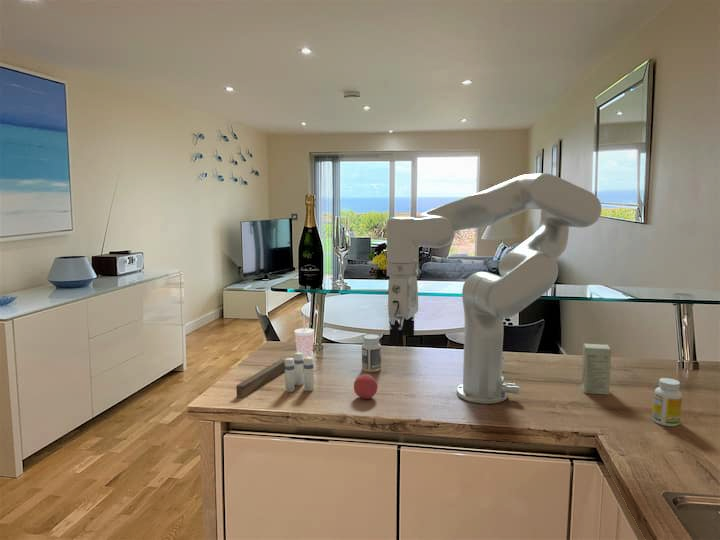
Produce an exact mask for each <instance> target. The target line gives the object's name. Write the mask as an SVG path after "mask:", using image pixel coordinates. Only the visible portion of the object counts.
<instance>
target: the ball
mask: <svg viewBox="0 0 720 540" xmlns="http://www.w3.org/2000/svg"><path fill="white" fill-rule="evenodd" d="M378 386H379V385H378V381H377V380H376V378H374V376H372V375H370V374H366V373H365V374H361V375H359V376H358V377H356V379H355V380H354V384H353V390H354V393H355V395H356V396H357V397H359V398H361V399H364V400H365V399H366V400H367V399H371V398H373V397H374V396H375V395H376V393H377V392H378V388H379V387H378Z"/></svg>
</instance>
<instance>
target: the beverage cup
mask: <svg viewBox="0 0 720 540" xmlns="http://www.w3.org/2000/svg"><path fill="white" fill-rule="evenodd" d="M305 317H306V315H305V314H303V317H302V321H303V322H302V323H303V325H302V326H303V328H302V327H301V328H297V329H294V330H293V331H294V332H293V333H294V335H295V345H296V353H297V352H301V353H303V360H304V358H305V357H313V350H314V349H313V347H314V334H315V329H314V328H310V327H306V318H305Z"/></svg>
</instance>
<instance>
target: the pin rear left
mask: <svg viewBox="0 0 720 540" xmlns="http://www.w3.org/2000/svg"><path fill="white" fill-rule="evenodd" d="M284 360H285V371H284V381H285V383H284V386H285V390H284V391H285V392H286V393H292V392H295V387H296V385H295V375H294V357H286V358H284Z"/></svg>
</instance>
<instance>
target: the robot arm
mask: <svg viewBox="0 0 720 540" xmlns="http://www.w3.org/2000/svg"><path fill="white" fill-rule="evenodd" d="M528 210H540V222H539V225H538V227H537V230H536V231H535V232H534V233H532V234H531V235H530V236H528V238H526V239H525V240H523V241H522V242H520V243H519V244H518V245H516V246H515V247H514V248H512V249H511V250H510V251H508V252H507V253H506V254H505V255H504V256H503V257H502V258H501V259H500V261H499V265H498V272H499V274H496V273H493V272H487V271H478V272H475V273H472V274H470V275H469V276H468V277H467V278H466V280H465V281H464V283H463V287H462V289H461V291H462V292H461V295H462V298H461V299H462V305H463V306H462V307H463V315H464V331H463V332H464V336H463V338H464V339H463V366H462V367H463V371H462V375H463V377H462V383H461V384H459V385H458V386H457V387H456V394H457V396H458V397H460V398H461V399H462V400H464V401H467V402H470V403H475V404H480V405H481V404H483V405H490V404H491V405H493V404H498V403H501V402H504V401H505V400H507V398H508V393H509V394H513V395H520V386H518V385H516V383H512V382H507V381H504V380H505V379H504V378H505V377H504V376H503V374H502V372H503V371H502V370H503V350H504V349H503V347H504V346H503V345H504V319H509V318H511V317H514V316H516V315H517V314H519V313H520V312H522V311H523V310H524V309H526V308H527V307H528V306H530V305H531V304H532V303H534V302H535V301H536V300H538V299H539V298H541V297H542V296H543V295H544V294H545V293H547V292H548V291H549V290H550V289H551V288H553V285H555V282H556V281H557V278H558V275H559V266H558V263H557V261H556V260H557V259H558V258H560V256H562V254H563V253H564V252H565V250H566V248H567V245H568V242H569V240H568V239H569V231H570V227H571V228H588V227H592V225H594V224H596V222H598V220H599V219H600V216H601V215H602V214H601V213H602V204H601V201H600V199H599V198H598V196H597V195H595V194H594V193H592V192H591V191H589V190H588V189H585V188H582V187H581V186H578V185H576V184H574V183H571V181H567V180H566V179H564V178H561V177H559V176H556V175H554V174H551V173H545V172H543V173H541V172H540V173H527V174H522V175H519V176H517V177H513V178H512V179H511V178H510V179H509V180H507V181H504V182H502V183H499V184H497V185H494V186H492V187H490V188H487V189H485V190H482V191H480V192H477V193H474V194H470V195H468V196H465V197H463V198H460V199H457V200H454V201H451V202H448V203H445V204H443V205H440V206H437V207H435V208H432V209H429V210H427V211H425V212H423V213H421V214H418V215H417V216H416V217H414V216H394V217H393V216H392V217H390V218H389V219H388V220H387V222H386V276H388V277H389V283H388V296H387V297H388V299H387V309H388V310H387V312H388V319H389V321H388V323H389V327H388V328H389V345H390V346H393V347H403V346H404V336H405V337H414V335H415V315H416V314H417V313H418V311H419V291H418V276H419V269H420V268H419V259H420V258H419V255H420V254H419V252H420V251H419V250H420V248H419V247H423V248H431V249H441V248H444V247H446V246H448V245H450V244H451V243H452V242H453V240H454V238H455V235H456V232H459V231H462V230H467V229H478V228H485V227H490V226H495V225H496V224H498V223H500V222H503V221H505V220H508V219H510V218H512V217H514V216H516V215H519V214H521V213H525V212H527V211H528Z"/></svg>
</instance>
